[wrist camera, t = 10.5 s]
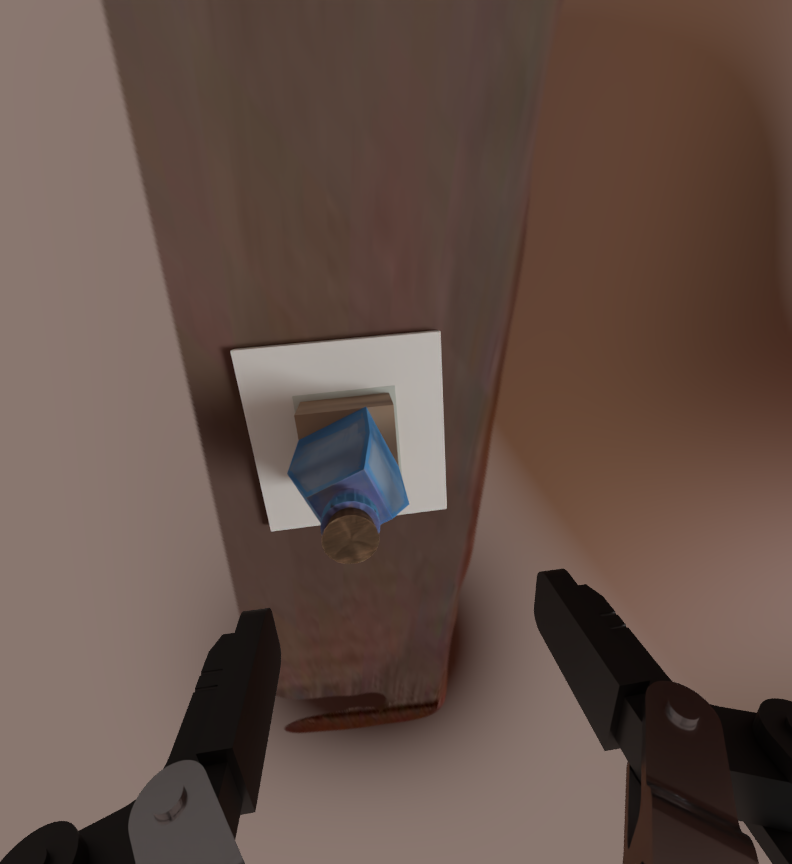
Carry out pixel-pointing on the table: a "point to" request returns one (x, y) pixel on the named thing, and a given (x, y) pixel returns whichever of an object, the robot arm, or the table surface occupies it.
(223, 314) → the table surface
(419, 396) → the build board
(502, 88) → the table surface
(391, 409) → the walnut block
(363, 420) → the perfume bottle
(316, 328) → the table surface
